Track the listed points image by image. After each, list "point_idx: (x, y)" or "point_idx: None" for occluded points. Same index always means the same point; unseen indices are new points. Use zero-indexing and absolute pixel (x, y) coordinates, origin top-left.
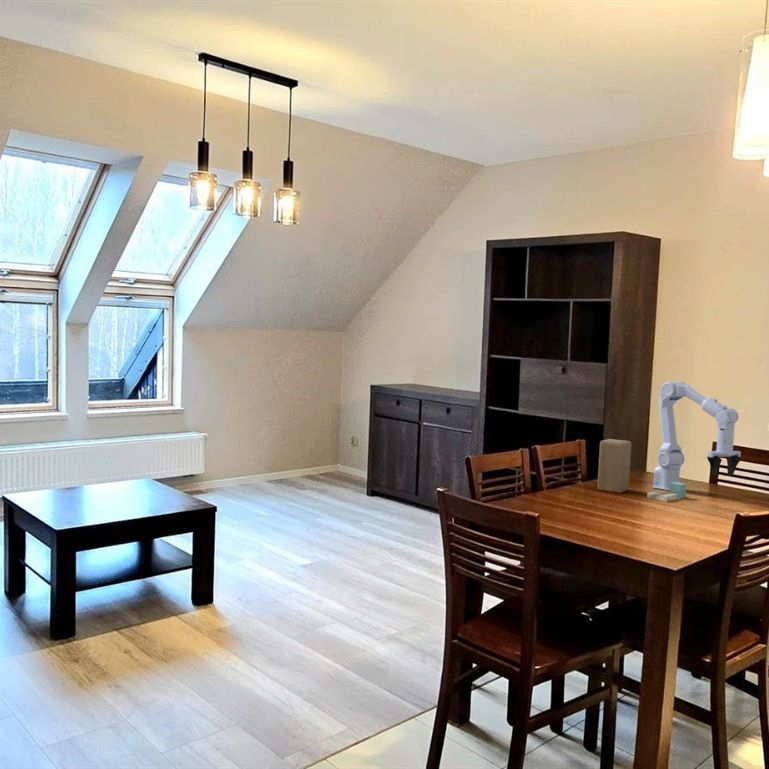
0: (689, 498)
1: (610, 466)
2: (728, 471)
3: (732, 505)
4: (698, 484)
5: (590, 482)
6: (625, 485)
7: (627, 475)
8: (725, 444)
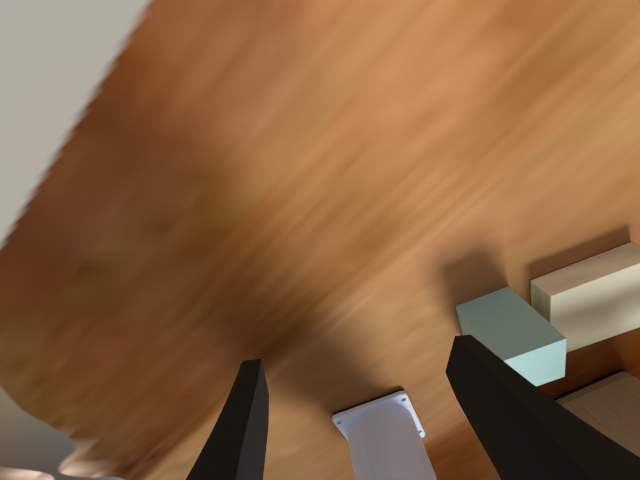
0: (454, 290)
1: None
2: (266, 423)
3: (371, 101)
4: None
5: None
6: (604, 407)
7: None
8: None
